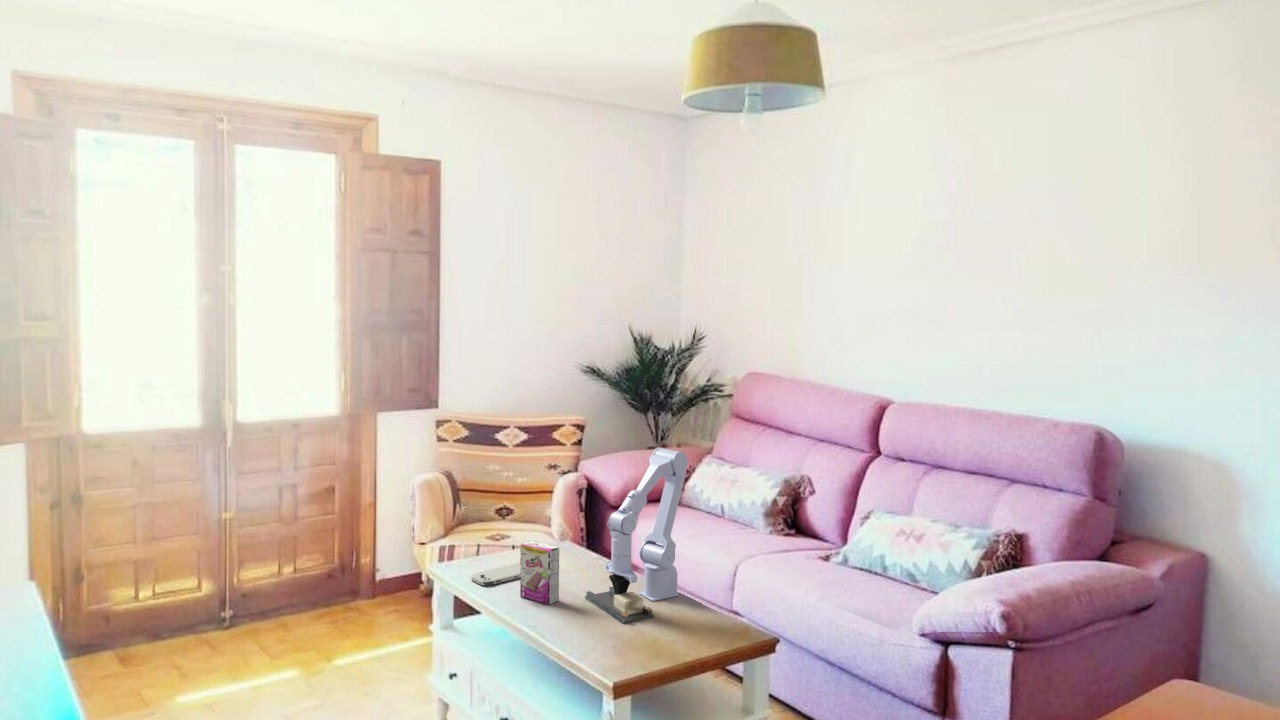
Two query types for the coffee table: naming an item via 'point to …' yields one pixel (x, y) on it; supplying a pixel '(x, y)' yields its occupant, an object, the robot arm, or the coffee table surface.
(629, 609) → the block
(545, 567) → the candy bar box
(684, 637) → the coffee table surface
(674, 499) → the robot arm
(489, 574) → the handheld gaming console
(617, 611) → the chute
